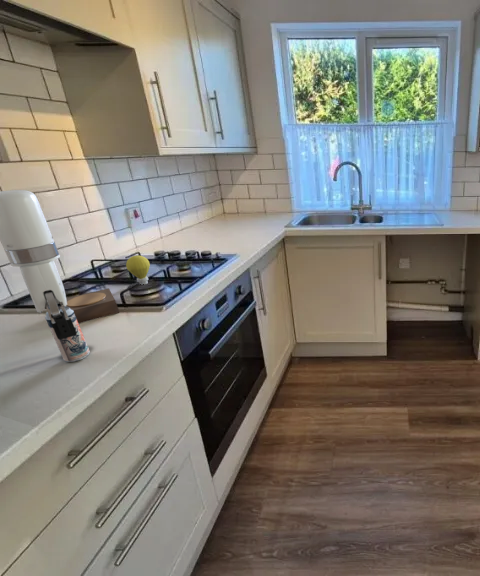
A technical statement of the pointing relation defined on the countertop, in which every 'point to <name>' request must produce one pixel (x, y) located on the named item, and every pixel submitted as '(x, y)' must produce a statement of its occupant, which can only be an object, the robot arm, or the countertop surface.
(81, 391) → the countertop surface
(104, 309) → the block
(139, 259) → the light bulb
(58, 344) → the beer can
